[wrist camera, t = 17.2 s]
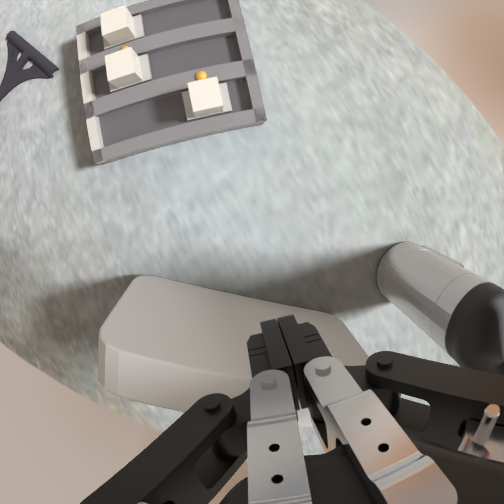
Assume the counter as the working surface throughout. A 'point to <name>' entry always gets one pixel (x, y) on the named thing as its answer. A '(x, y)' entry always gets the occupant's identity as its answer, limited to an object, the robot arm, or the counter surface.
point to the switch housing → (168, 77)
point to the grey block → (196, 342)
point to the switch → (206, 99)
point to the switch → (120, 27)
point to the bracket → (14, 67)
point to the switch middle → (127, 69)
